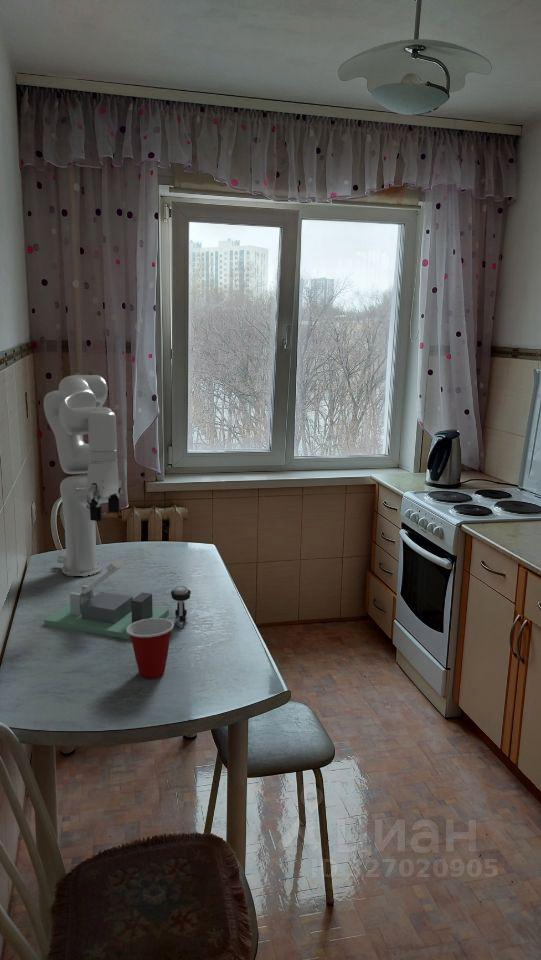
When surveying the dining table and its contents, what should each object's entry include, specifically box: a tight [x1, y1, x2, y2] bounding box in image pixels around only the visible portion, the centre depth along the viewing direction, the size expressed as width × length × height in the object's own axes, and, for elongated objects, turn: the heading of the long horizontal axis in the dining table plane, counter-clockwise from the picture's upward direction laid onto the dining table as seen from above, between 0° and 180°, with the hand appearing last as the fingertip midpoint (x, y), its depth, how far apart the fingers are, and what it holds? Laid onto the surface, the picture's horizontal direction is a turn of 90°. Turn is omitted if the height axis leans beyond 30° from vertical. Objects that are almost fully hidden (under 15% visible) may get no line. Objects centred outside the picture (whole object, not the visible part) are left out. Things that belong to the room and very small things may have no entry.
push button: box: [170, 585, 192, 629], centre depth 189 cm, size 7×5×10 cm
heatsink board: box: [43, 584, 170, 641], centre depth 191 cm, size 28×18×8 cm, turn 72°
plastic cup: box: [126, 618, 175, 680], centre depth 162 cm, size 11×11×12 cm
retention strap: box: [80, 557, 126, 597], centre depth 191 cm, size 17×4×2 cm
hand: (105, 516), depth 197 cm, fingers open, 9 cm apart
